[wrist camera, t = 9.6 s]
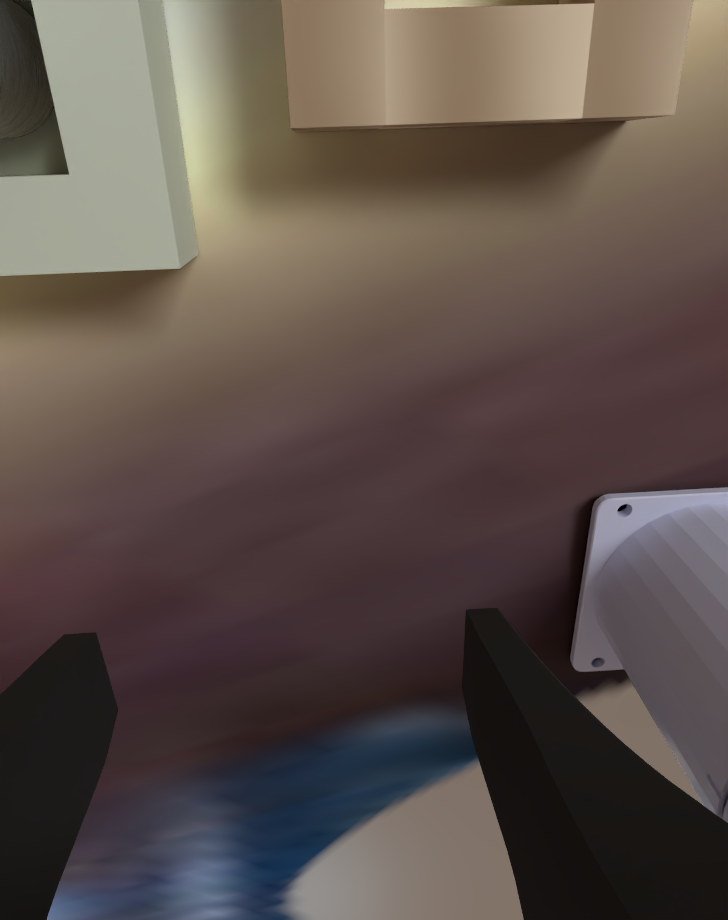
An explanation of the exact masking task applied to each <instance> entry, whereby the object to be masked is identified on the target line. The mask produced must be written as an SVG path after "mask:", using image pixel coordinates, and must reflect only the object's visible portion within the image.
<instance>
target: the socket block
mask: <svg viewBox="0 0 728 920" xmlns="http://www.w3.org/2000/svg"><path fill="white" fill-rule="evenodd" d="M692 5H693V0H558V4H554V5H518V6H482V7H446V8H409V9H384V0H281V7H282V20H283V34H284V47H285V61H286V74H287V88H288V101H289V115H290V128H291V129H292V130H293V131H295V132H312V131H342V130H371V129H400V128H429V127H458V126H487V125H516V124H545V123H575V122H604V121H629V120H638V119H646V118H655V117H663V116H671V115H675V109H676V103H677V97H678V90H679V84H680V78H681V72H682V66H683V60H684V54H685V48H686V42H687V36H688V29H689V23H690V17H691V11H692Z"/></svg>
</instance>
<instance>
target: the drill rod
mask: <svg viewBox="0 0 728 920" xmlns="http://www.w3.org/2000/svg"><path fill="white" fill-rule="evenodd" d="M53 106H54V102H53V98H52V93H51V89H50V84H49V80H48V75H47V70H46V66H45V61H44V57H43V52H42V48H41V43H40V38H39V34H38V29H37V25H36V21H35V20H34V19H33V18H32V17H31V16H30V14H29V13H28V12H27V11H25V10H24V9H23V8H22V7H21V6H20V5H19V4H17V3H16V2H14V1H13V0H0V138H15V137H20V136H23V135H26V134H29V133H30V132H32V131H34V130H36V129H37V128H38V127H39V126H41V125H42V124H43V122H44V121H45V120H46V119H47V118H48V116H49V114H50V113H51V111H52V108H53Z"/></svg>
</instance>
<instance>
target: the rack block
mask: <svg viewBox="0 0 728 920" xmlns="http://www.w3.org/2000/svg"><path fill="white" fill-rule="evenodd" d="M31 2H32V6H33V11H34V15H35V20H36V25H37V29H38V34H39V38H40V43H41V48H42V52H43V57H44V61H45V66H46V70H47V75H48V80H49V84H50V89H51V93H52V98H53V102H54V107H55V112H56V116H57V121H58V125H59V130H60V135H61V139H62V144H63V148H64V153H65V157H66V162H67V167H68V171H69V174H45V175H18V176H0V276H13V275H37V274H61V273H85V272H109V271H133V270H157V269H180V268H181V267H183V266H184V265H185V264H187V263H188V262H189V261H191V260H192V259H193V258H194V257H196V256H197V255H198V248H197V241H196V234H195V227H194V220H193V213H192V206H191V199H190V192H189V185H188V178H187V171H186V164H185V157H184V150H183V143H182V136H181V129H180V122H179V115H178V108H177V101H176V94H175V87H174V80H173V73H172V66H171V59H170V52H169V45H168V38H167V31H166V24H165V17H164V10H163V3H162V0H31Z"/></svg>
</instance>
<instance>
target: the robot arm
mask: <svg viewBox="0 0 728 920" xmlns="http://www.w3.org/2000/svg"><path fill="white" fill-rule="evenodd" d="M624 504H627V506H626V508H625V509H624V510H622V511H617V510H618V508H619V507H620V506H621V505H624ZM595 658H598V659H597V660H594V659H595ZM570 661H571V663H572V666H573V667H574V669H575V670H577V671H579V672H590V671H605V670H621V669H624V670H625V671H626V673H627V675H628V677H629V678H630V680H631V682H632V683H633V685H634V687H635V689H636V690H637V692H638V694H639V695H640V697H641V699H642V700H643V702H644V704H645V706H646V707H647V709H648V711H649V712H650V714H651V716H652V718H653V720H654V721H655V723H656V725H657V726H658V728H659V730H660V731H661V733H662V735H663V737H664V738H665V740H666V742H667V744H668V745H669V747H670V749H671V750H672V752H673V754H674V756H675V757H676V759H677V761H678V762H679V764H680V766H681V768H682V769H683V771H684V773H685V774H686V776H687V778H688V780H689V781H690V783H691V785H692V787H693V788H694V790H695V792H696V793H697V795H698V797H699V798H700V800H701V802H702V804H703V805H704V806H703V805H702V804H700V803H699V802H698V801H696V800H695V799H694V798H692V797H691V796H690V795H688V794H686V793H685V792H684V791H683V790H681V789H680V788H678V787H677V786H676V785H674V784H673V783H671V782H670V781H669V780H668V779H666V778H665V777H664V776H663V775H661V774H660V773H659V772H658V771H656V770H655V769H654V768H652V767H651V766H650V765H649V764H647V763H646V762H645V761H644V760H643V759H642V758H640V757H639V756H638V755H637V754H635V753H634V752H633V751H632V750H631V749H630V748H629V747H627V746H626V745H625V744H624V743H623V742H622V741H621V740H619V739H618V738H617V737H616V736H615V735H614V734H613V733H612V732H610V730H609V729H607V728H606V727H605V726H604V725H603V724H602V723H601V722H600V721H599V720H598V719H597V718H596V717H595V716H594V715H593V714H592V713H591V712H590V711H589V710H588V709H587V708H586V707H585V706H584V705H583V704H582V703H581V702H580V701H579V700H578V699H577V698H576V697H575V696H574V695H573V694H572V693H571V692H570V691H569V690H568V689H567V688H566V687H565V686H564V685H563V684H562V682H561V681H560V680H559V679H558V678H557V677H556V676H555V675H554V674H553V673H552V672H551V671H550V669H549V668H548V667H547V666H546V665H545V664H544V663H543V662H542V661H541V659H540V658H539V657H538V656H537V655H536V654H535V652H534V651H533V650H532V649H531V648H530V647H529V645H528V644H527V643H526V642H525V641H524V639H523V638H522V637H521V636H520V635H519V633H518V632H517V631H516V630H515V628H514V627H513V626H512V625H511V623H510V622H509V621H508V620H507V618H506V617H505V616H504V614H503V613H502V612H501V611H500V610H499V609H498V608H486V609H470V610H466V621H465V641H464V661H463V681H462V688H463V694H464V699H465V704H466V710H467V715H468V720H469V725H470V730H471V735H472V739H473V742H474V745H475V749H476V752H477V755H478V758H479V762H480V765H481V768H482V771H483V775H484V778H485V781H486V784H487V787H488V791H489V794H490V797H491V800H492V803H493V807H494V810H495V813H496V816H497V819H498V822H499V826H500V829H501V832H502V835H503V838H504V841H505V845H506V848H507V851H508V855H509V859H510V862H511V866H512V870H513V873H514V877H515V881H516V885H517V890H518V895H519V899H520V904H521V908H522V913H523V918H524V920H728V487H725V488H707V489H689V490H672V491H654V492H636V493H618V494H606V495H603V496H601V497H599V498H598V499H597V500H596V501H595V502H594V505H593V508H592V515H591V521H590V528H589V535H588V541H587V548H586V555H585V562H584V568H583V575H582V582H581V588H580V595H579V602H578V608H577V615H576V622H575V628H574V635H573V642H572V649H571V655H570ZM117 712H118V708H117V704H116V701H115V697H114V694H113V690H112V687H111V683H110V680H109V676H108V673H107V669H106V666H105V662H104V659H103V655H102V652H101V648H100V645H99V641H98V638H97V634H96V633H81V634H65V635H63V636H62V637H61V638H60V639H59V640H58V641H57V642H55V643H54V644H53V645H52V646H51V647H50V648H49V649H48V650H47V651H46V652H45V653H44V654H43V655H42V656H41V657H39V658H38V659H37V660H36V661H35V662H34V663H33V664H32V665H31V666H30V667H29V668H28V669H27V670H26V671H25V672H24V673H23V674H22V675H21V676H20V677H19V678H18V679H16V680H15V681H14V682H13V683H12V684H11V685H10V686H9V687H8V688H7V689H6V690H5V691H4V692H3V693H2V694H1V695H0V920H47V916H48V913H49V910H50V907H51V904H52V901H53V898H54V896H55V893H56V890H57V887H58V884H59V881H60V879H61V876H62V874H63V871H64V869H65V866H66V863H67V861H68V858H69V856H70V853H71V850H72V848H73V845H74V843H75V840H76V837H77V835H78V832H79V830H80V827H81V824H82V822H83V819H84V817H85V814H86V812H87V809H88V806H89V804H90V801H91V798H92V796H93V793H94V791H95V788H96V785H97V783H98V780H99V777H100V775H101V772H102V769H103V766H104V764H105V760H106V757H107V753H108V749H109V745H110V741H111V737H112V733H113V729H114V725H115V720H116V716H117Z"/></svg>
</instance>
